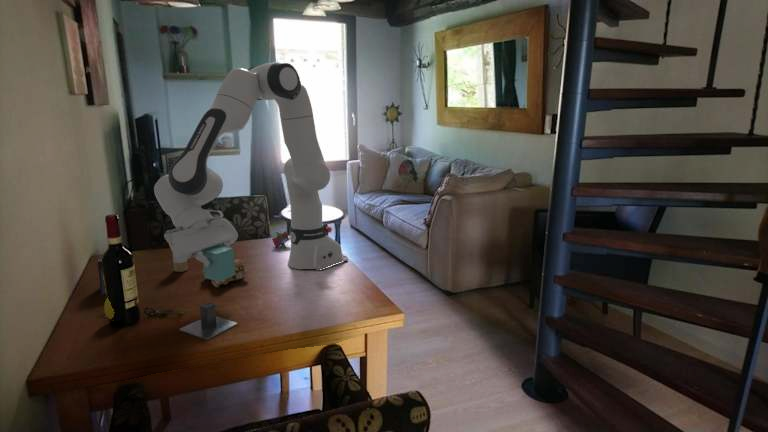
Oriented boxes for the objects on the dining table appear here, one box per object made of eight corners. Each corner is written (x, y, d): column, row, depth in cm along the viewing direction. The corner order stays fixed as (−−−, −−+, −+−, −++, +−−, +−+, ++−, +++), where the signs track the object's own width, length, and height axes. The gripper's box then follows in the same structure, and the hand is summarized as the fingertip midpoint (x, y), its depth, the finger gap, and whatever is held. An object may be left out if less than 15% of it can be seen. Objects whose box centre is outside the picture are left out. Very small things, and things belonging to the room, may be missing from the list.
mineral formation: (217, 291, 143) (190, 277, 152) (252, 286, 154) (225, 273, 163) (220, 266, 142) (193, 253, 151) (255, 262, 153) (228, 251, 162)
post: (211, 315, 126) (209, 294, 125) (237, 324, 122) (236, 302, 120) (179, 330, 118) (177, 307, 116) (206, 340, 113) (205, 316, 112)
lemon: (112, 317, 124) (109, 289, 122) (133, 316, 125) (130, 288, 123) (101, 326, 119) (98, 297, 117) (124, 326, 119) (121, 297, 118)
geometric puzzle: (273, 246, 184) (283, 228, 186) (265, 242, 189) (275, 225, 191) (286, 254, 189) (296, 237, 190) (278, 249, 194) (288, 233, 196)
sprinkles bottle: (185, 267, 164) (182, 230, 161) (189, 270, 161) (187, 233, 158) (172, 269, 162) (168, 232, 159) (175, 273, 158) (172, 235, 155)
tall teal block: (220, 271, 136) (218, 245, 135) (235, 275, 134) (233, 248, 132) (204, 277, 132) (202, 250, 130) (219, 281, 129) (216, 254, 127)
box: (122, 292, 141) (118, 258, 139) (100, 294, 139) (96, 261, 136) (123, 283, 148) (120, 251, 146) (103, 286, 146) (99, 253, 143)
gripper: (165, 225, 123) (194, 266, 121) (225, 210, 141) (251, 245, 138) (156, 239, 126) (184, 279, 124) (216, 222, 144) (241, 257, 141)
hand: (220, 261), depth 131 cm, fingers closed on tall teal block, 6 cm apart
